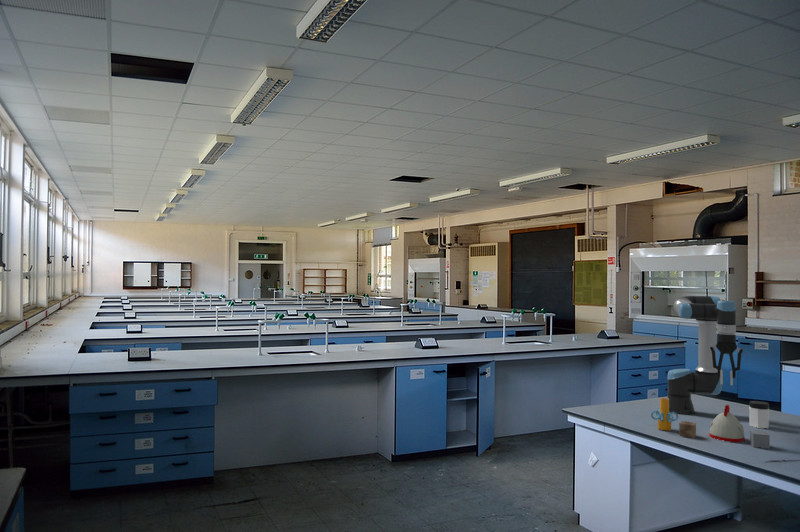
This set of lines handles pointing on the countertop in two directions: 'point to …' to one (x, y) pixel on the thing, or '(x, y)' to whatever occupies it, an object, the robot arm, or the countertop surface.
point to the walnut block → (687, 429)
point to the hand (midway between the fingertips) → (726, 384)
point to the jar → (759, 414)
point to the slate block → (759, 439)
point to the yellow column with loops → (664, 415)
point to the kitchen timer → (727, 427)
